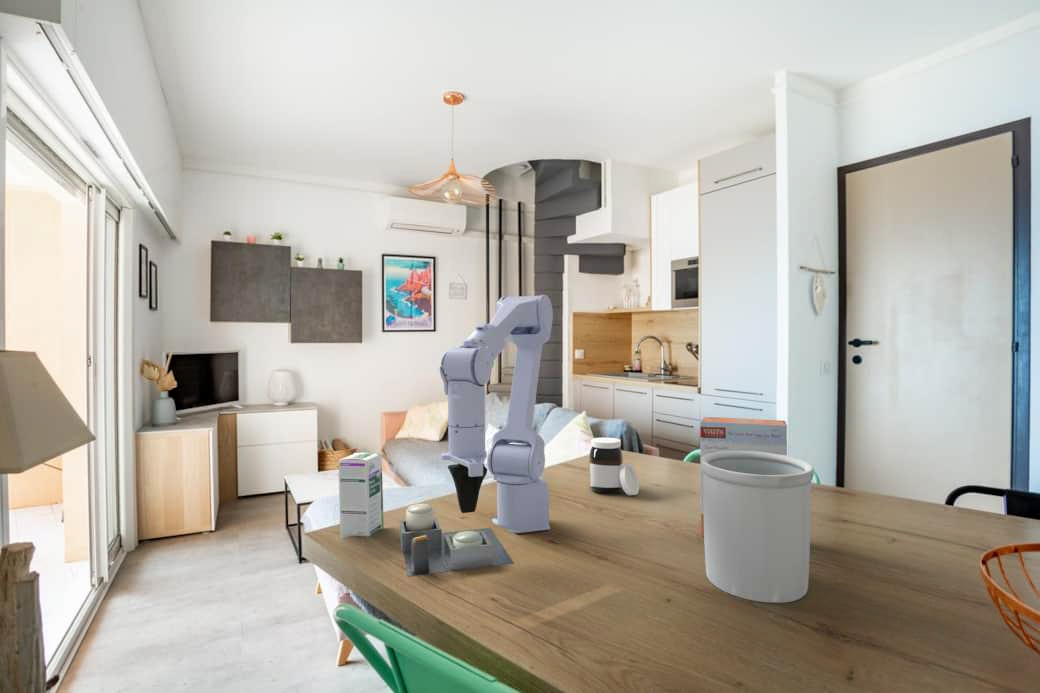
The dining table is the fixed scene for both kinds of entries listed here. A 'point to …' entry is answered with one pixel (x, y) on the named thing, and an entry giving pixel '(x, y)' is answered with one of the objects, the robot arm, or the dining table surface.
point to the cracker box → (740, 439)
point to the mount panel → (453, 550)
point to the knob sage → (467, 539)
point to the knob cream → (419, 517)
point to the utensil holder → (757, 524)
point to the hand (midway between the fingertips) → (467, 511)
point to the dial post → (420, 554)
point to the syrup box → (360, 494)
